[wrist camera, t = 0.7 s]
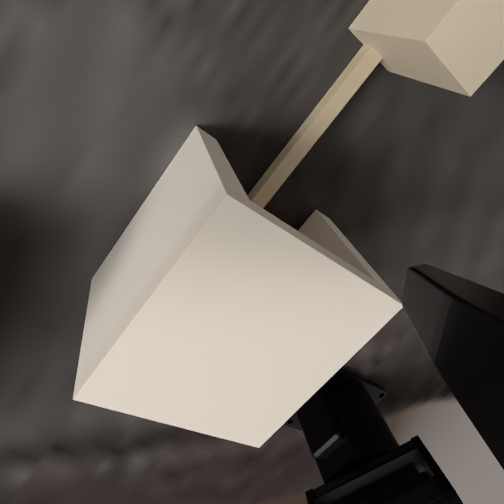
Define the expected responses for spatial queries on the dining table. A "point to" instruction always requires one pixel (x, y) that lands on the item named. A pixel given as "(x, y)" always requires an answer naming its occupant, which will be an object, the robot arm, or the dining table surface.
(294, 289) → the white open box
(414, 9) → the cream and brown mallet
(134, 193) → the dining table surface
